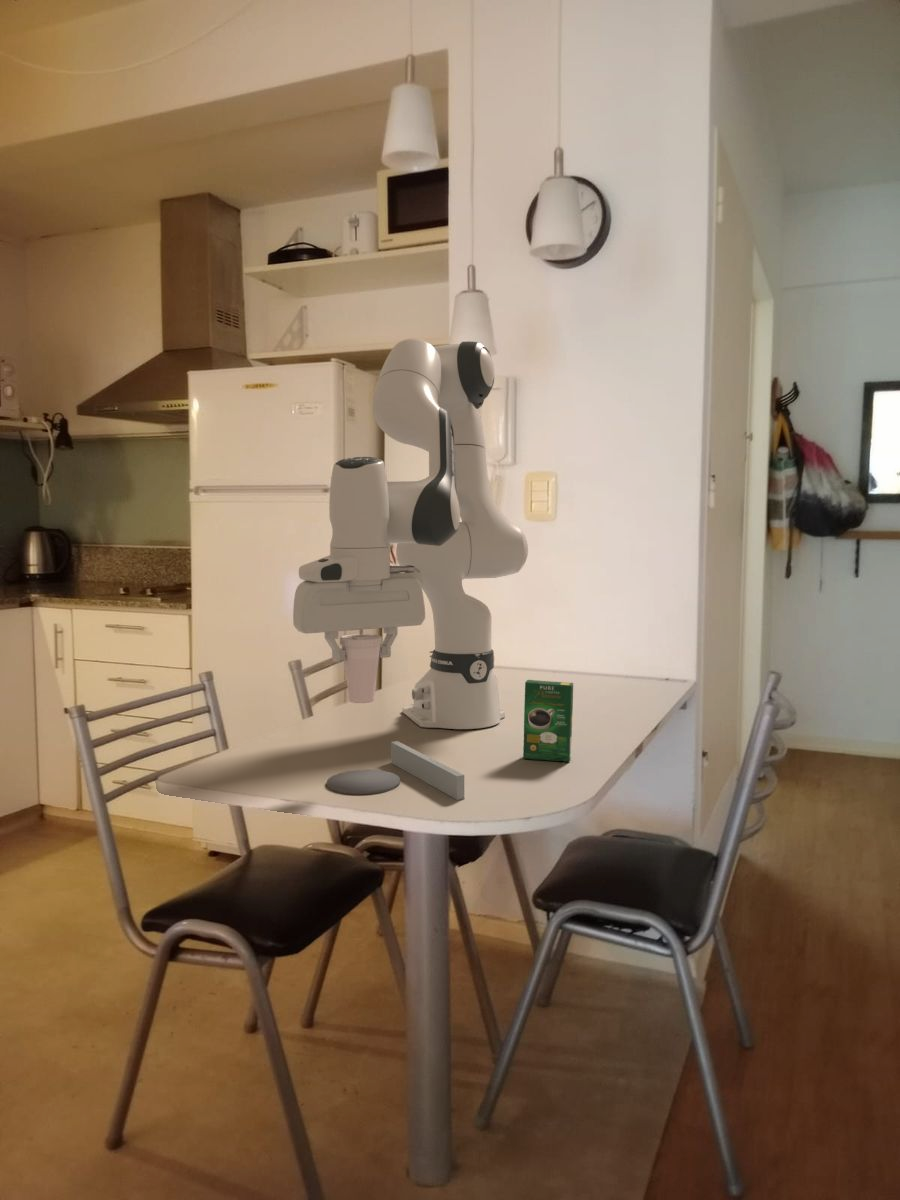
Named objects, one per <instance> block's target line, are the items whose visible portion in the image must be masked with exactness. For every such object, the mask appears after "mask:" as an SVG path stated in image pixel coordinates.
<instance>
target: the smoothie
mask: <svg viewBox="0 0 900 1200" xmlns="http://www.w3.org/2000/svg"><path fill="white" fill-rule="evenodd" d="M358 631H359V633H355V634H347V635H342V636H340V637H339V645H340V646H341V648H342V649H345V650H346V655H345V657H346V661H343V663H344V670H345V678H346V684H347V685H346V686H347V692H348V693H347V694H348V699H349V700H348V701H349V702H350V703H353V704H369V703H372V702H374V701H375V696H376V687H377V686H376V685H377V679H378V678H377V677H378V668H379V659H380V657H379V652H380V645H382V643H383V636H381V635H378V634H372V633H371V634H370V633H368V634H367V633H364V629H362V630H358Z"/></svg>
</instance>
